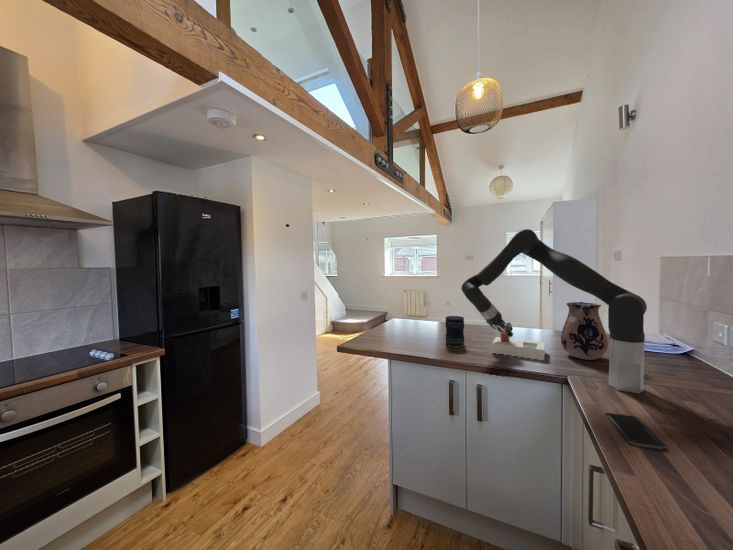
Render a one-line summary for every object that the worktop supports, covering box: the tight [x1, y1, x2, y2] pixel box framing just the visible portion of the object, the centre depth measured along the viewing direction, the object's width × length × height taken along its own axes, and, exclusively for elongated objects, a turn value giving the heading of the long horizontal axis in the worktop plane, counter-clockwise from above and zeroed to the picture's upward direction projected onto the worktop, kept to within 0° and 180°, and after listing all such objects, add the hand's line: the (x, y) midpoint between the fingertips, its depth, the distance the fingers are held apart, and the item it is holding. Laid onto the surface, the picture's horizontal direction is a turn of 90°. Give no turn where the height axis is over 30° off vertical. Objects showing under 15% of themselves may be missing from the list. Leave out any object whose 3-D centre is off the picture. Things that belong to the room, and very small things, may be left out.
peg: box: [500, 328, 510, 342], centre depth 148 cm, size 4×4×8 cm
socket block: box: [491, 336, 546, 361], centre depth 145 cm, size 14×22×5 cm, turn 58°
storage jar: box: [445, 315, 465, 347], centre depth 161 cm, size 10×10×15 cm
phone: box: [605, 412, 668, 451], centre depth 78 cm, size 8×1×15 cm
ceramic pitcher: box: [560, 301, 609, 361], centre depth 138 cm, size 18×21×25 cm
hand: (507, 334), depth 148 cm, fingers closed on peg, 4 cm apart
